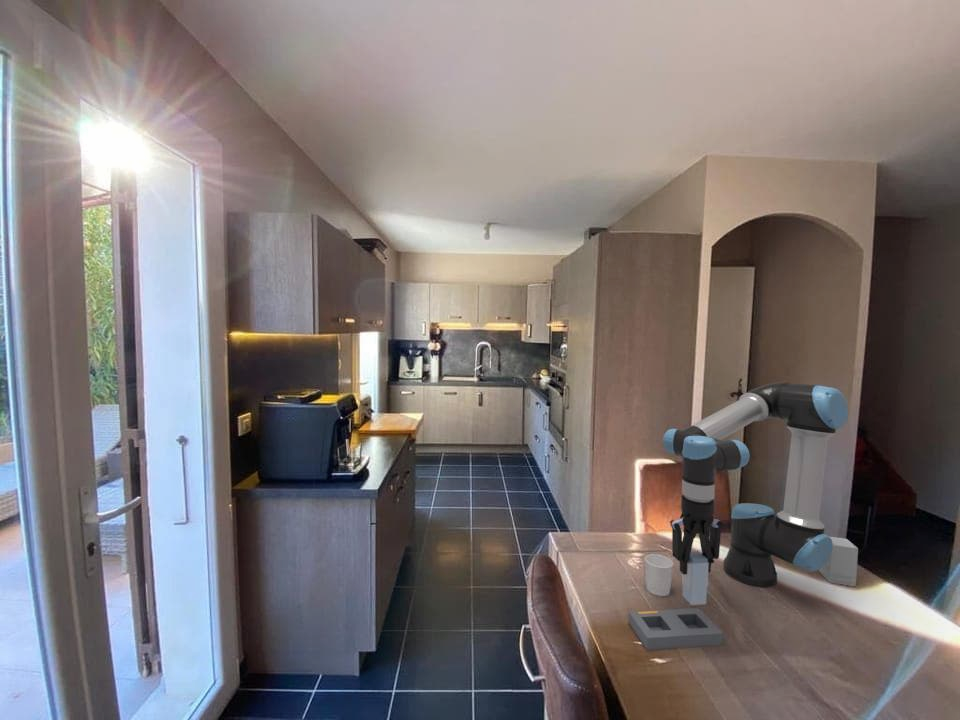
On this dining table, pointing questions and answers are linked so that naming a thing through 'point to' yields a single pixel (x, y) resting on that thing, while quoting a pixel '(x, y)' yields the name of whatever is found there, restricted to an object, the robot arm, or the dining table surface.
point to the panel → (674, 628)
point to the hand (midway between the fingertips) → (694, 584)
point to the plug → (697, 579)
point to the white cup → (658, 574)
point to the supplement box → (841, 563)
